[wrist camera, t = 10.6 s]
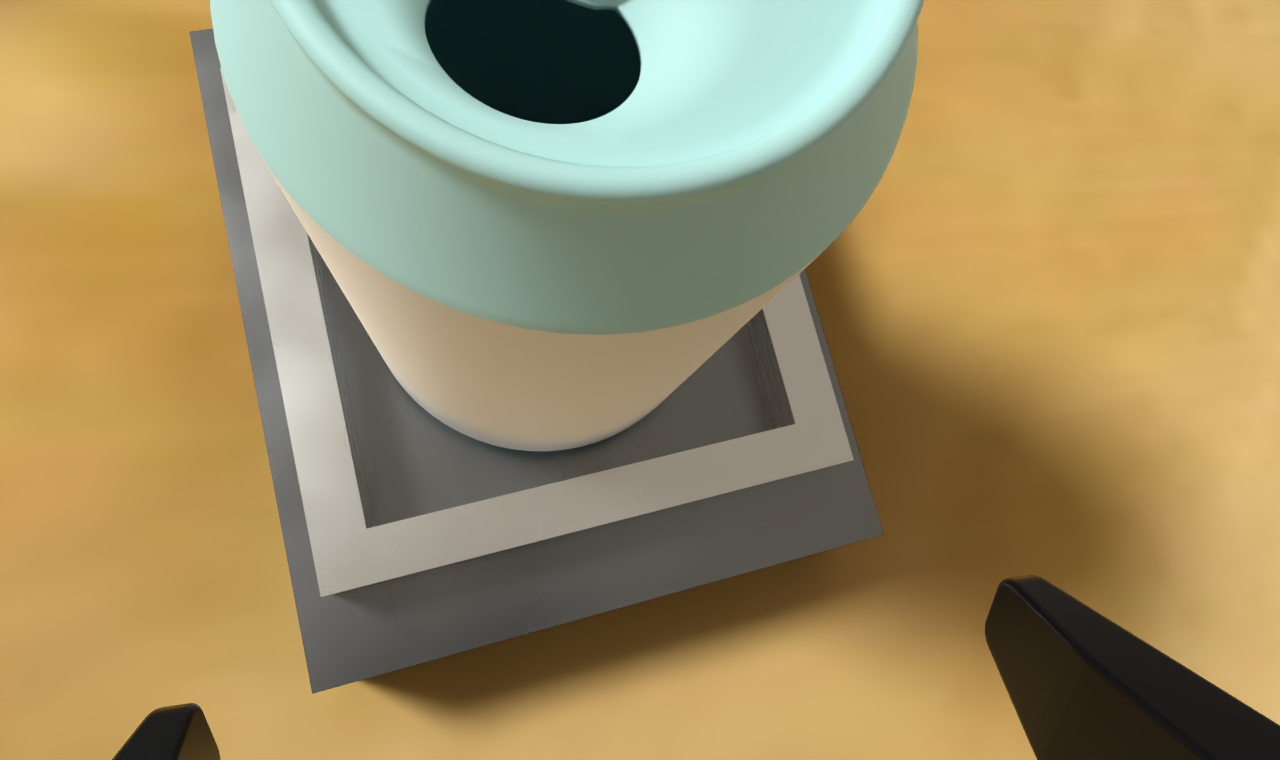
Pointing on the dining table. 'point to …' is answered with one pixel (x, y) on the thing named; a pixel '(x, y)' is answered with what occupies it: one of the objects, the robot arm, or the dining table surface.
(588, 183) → the can
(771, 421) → the grey rectangular tray
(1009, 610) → the robot arm
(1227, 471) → the dining table surface
